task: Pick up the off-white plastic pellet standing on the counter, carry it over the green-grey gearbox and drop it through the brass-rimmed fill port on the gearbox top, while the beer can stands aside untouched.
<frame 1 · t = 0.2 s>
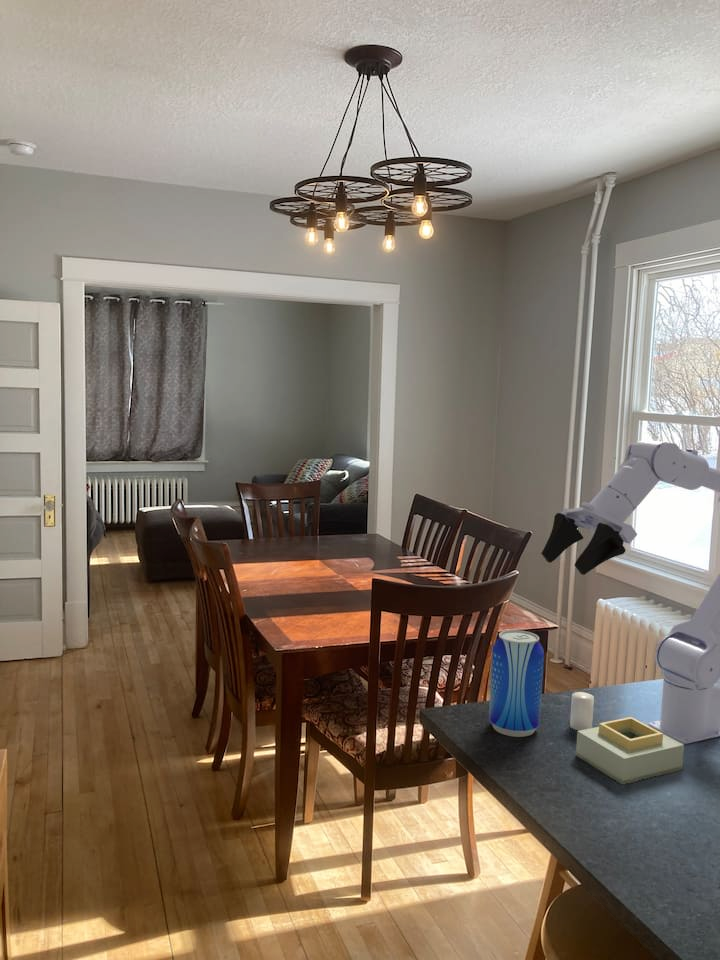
hand: (561, 564, 120), 31 cm above the kitchen island, tool tilted 45°, fingers open, 7 cm apart
beer can: (513, 729, 135), on the kitchen island
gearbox: (628, 762, 124), on the kitchen island
pellet: (580, 727, 136), on the kitchen island
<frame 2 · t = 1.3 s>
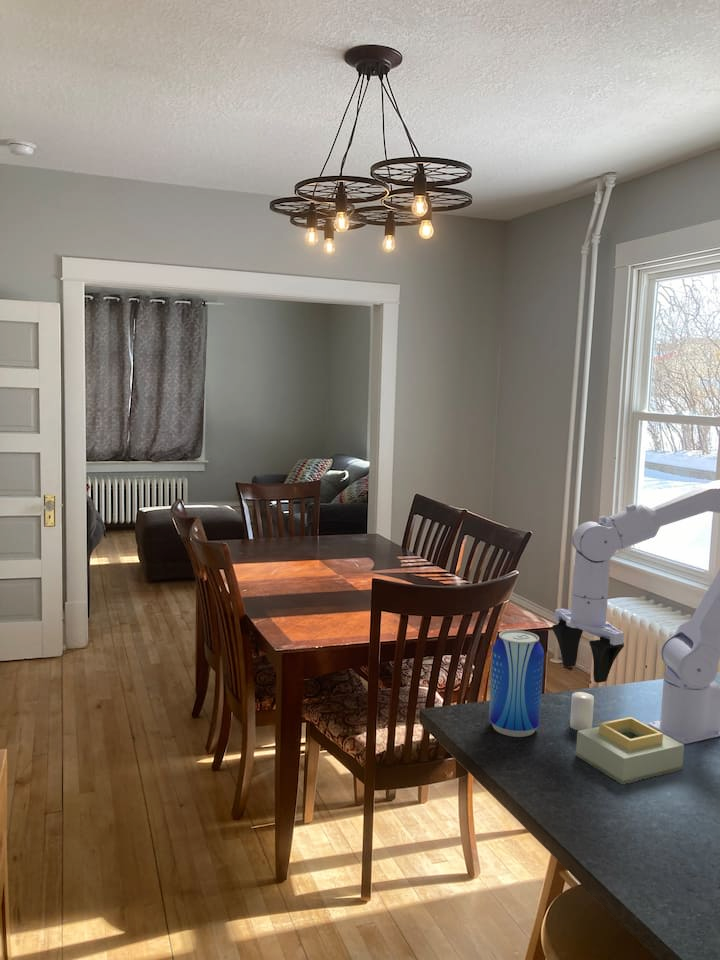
hand: (584, 673, 135), 9 cm above the kitchen island, tool pointing down, fingers open, 7 cm apart
nothing on the kitchen island moved.
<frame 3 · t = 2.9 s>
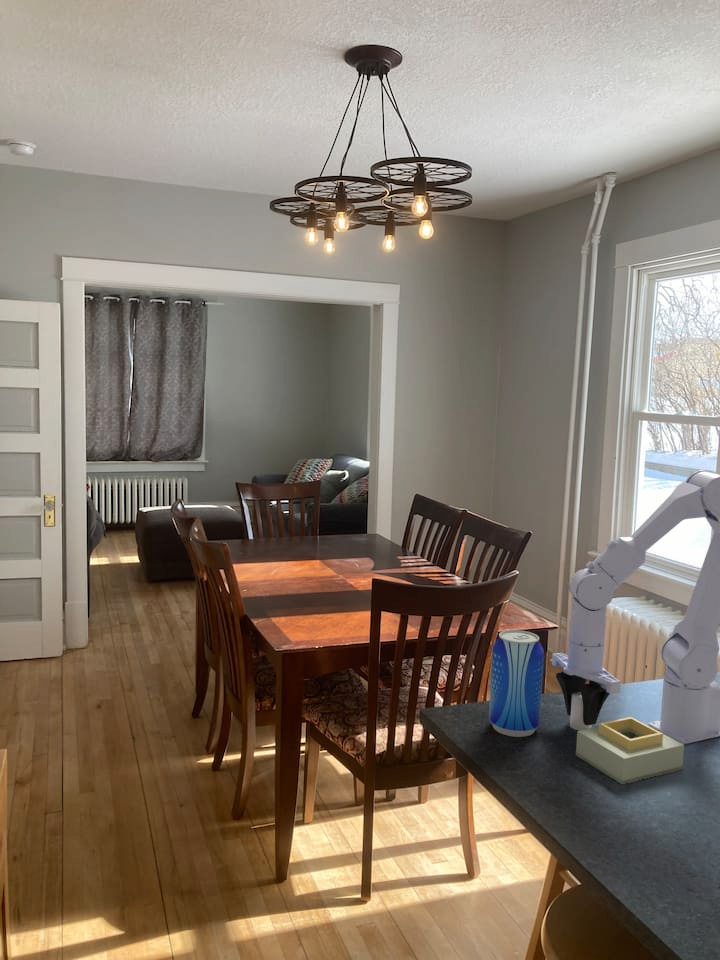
hand: (581, 719, 136), 1 cm above the kitchen island, tool pointing down, fingers closed on pellet, 4 cm apart
pellet: (580, 727, 136), on the kitchen island, touching gripper
everything else where it was.
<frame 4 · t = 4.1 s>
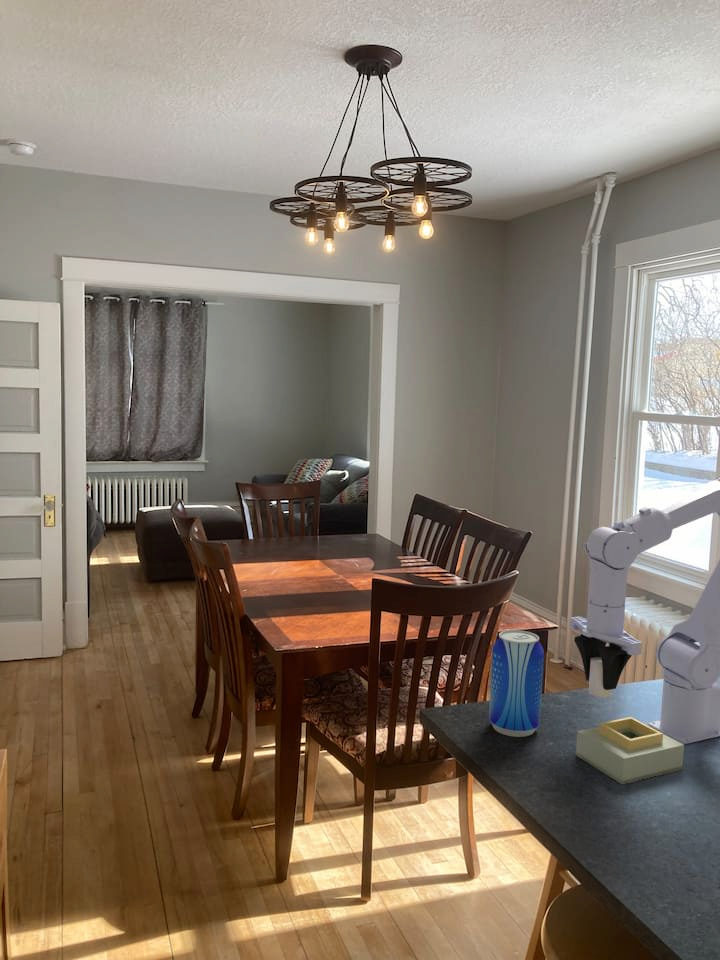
hand: (600, 684, 131), 9 cm above the kitchen island, tool pointing down, fingers closed on pellet, 4 cm apart
pellet: (599, 693, 131), point 8 cm above the kitchen island, touching gripper
everything else where it was.
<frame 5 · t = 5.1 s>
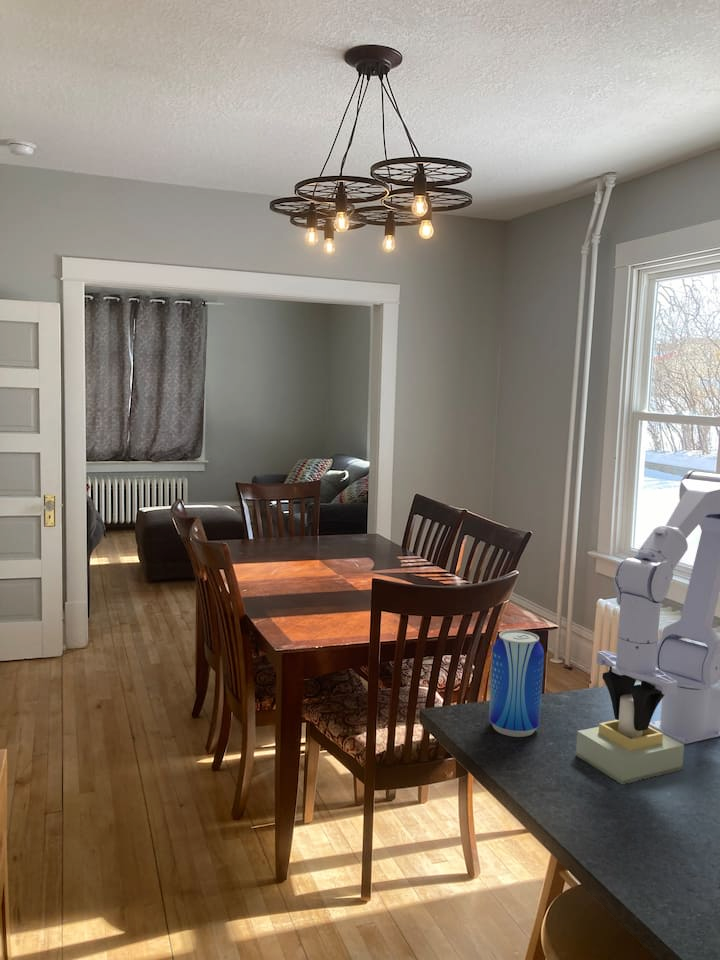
hand: (631, 723, 123), 6 cm above the kitchen island, tool pointing down, fingers closed on pellet, 4 cm apart
pellet: (630, 733, 123), point 5 cm above the kitchen island, touching gripper
everything else where it was.
when the fingers open (6 cm above the kitchen island, at t = 5.5 s): pellet drops 4 cm, resting on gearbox.
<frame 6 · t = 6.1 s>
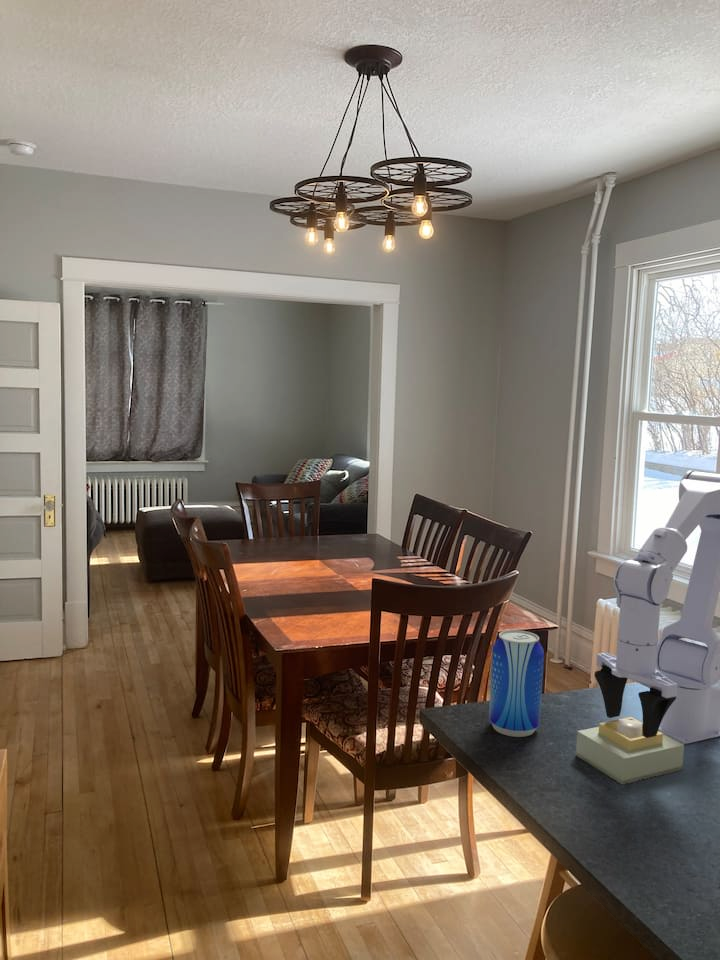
hand: (630, 725, 123), 6 cm above the kitchen island, tool pointing down, fingers open, 7 cm apart
pellet: (628, 758, 124), point 1 cm above the kitchen island, touching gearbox
everything else where it was.
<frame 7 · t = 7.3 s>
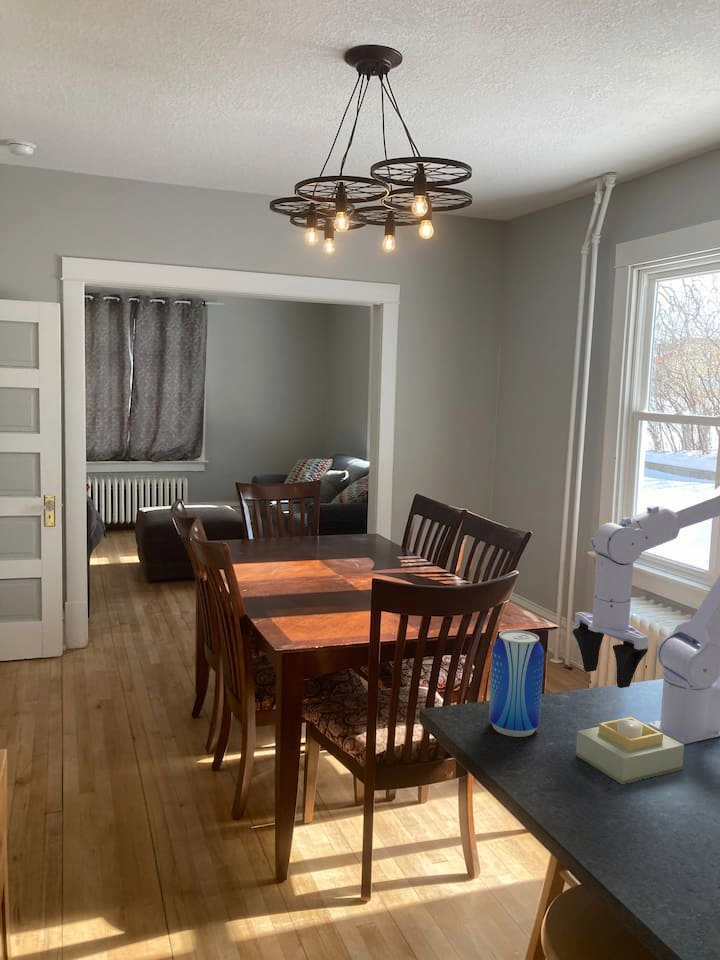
hand: (606, 678, 132), 10 cm above the kitchen island, tool pointing down, fingers open, 7 cm apart
nothing on the kitchen island moved.
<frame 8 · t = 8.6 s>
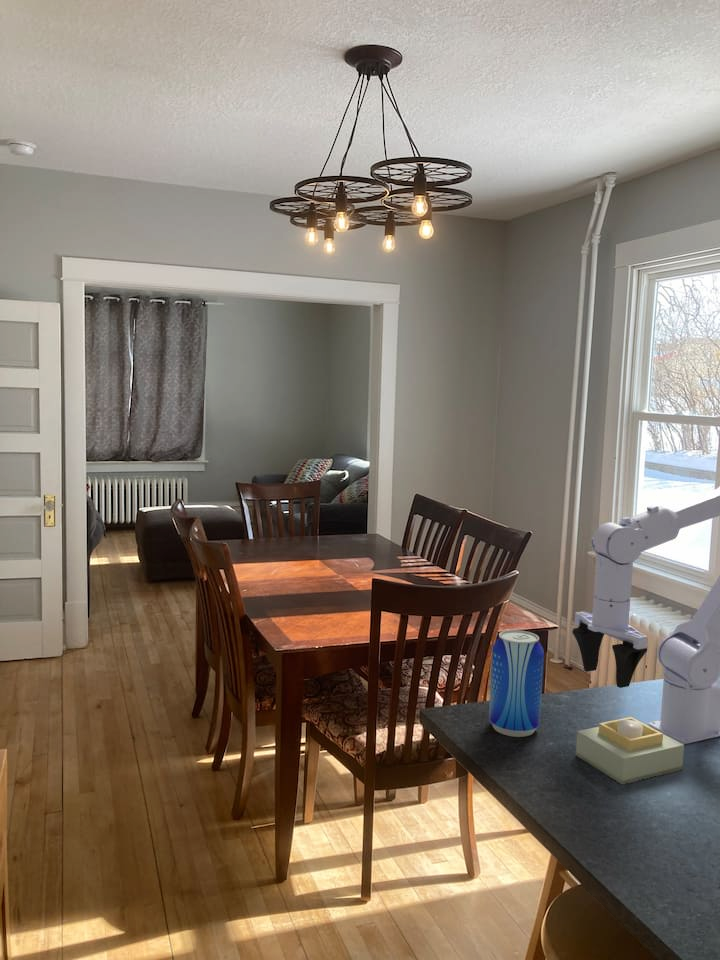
hand: (606, 678, 132), 10 cm above the kitchen island, tool pointing down, fingers open, 7 cm apart
nothing on the kitchen island moved.
at the end: pellet 0.0 cm off-centre on the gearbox, point 0.6 cm above the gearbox's base; the gripper is holding nothing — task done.
